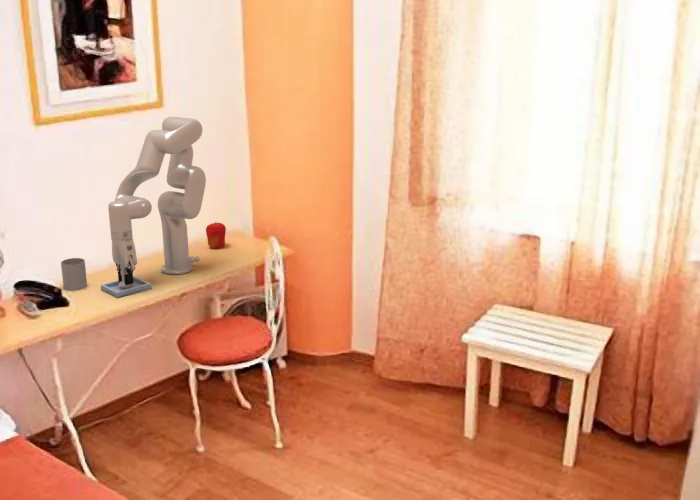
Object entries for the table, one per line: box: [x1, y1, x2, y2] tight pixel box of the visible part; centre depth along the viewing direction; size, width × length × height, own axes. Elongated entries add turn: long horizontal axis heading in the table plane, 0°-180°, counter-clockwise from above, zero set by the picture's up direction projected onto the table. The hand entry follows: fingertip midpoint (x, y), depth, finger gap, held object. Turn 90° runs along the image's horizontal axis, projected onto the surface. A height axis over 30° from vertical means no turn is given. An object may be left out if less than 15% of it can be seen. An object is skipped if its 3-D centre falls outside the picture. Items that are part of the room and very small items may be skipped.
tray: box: [100, 275, 153, 299], centre depth 300 cm, size 14×12×2 cm
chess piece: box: [119, 264, 133, 287], centre depth 299 cm, size 5×5×9 cm
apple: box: [205, 221, 227, 250], centre depth 349 cm, size 9×8×12 cm
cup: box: [60, 257, 88, 292], centre depth 302 cm, size 8×8×10 cm
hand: (126, 282), depth 300 cm, fingers closed on chess piece, 3 cm apart
